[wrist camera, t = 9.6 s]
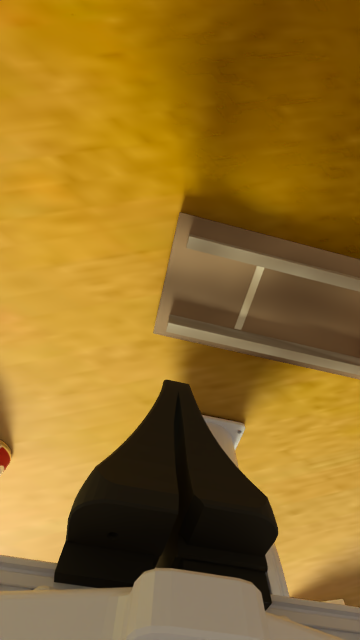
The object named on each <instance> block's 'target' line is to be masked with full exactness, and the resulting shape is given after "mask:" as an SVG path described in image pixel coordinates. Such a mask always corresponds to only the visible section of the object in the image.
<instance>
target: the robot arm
mask: <svg viewBox="0 0 360 640" xmlns="http://www.w3.org/2000/svg"><path fill="white" fill-rule="evenodd" d="M238 430H240V431H238ZM244 430H245V425H244V424H243V423H240V422H235V421H230V420H225V419H220V418H215V417H210V416H205V415H202V414H201V412H200V410H199V408H198V406H197V403H196V401H195V398H194V396H193V393H192V391H191V388H190V386H189V384H185V383H181V382H176V381H171V380H164V382H163V386H162V390H161V392H160V394H159V396H158V398H157V400H156V402H155V404H154V405H153V407H152V409H151V410H150V412H149V413H148V415H147V416H146V417H145V419H144V420H143V421H142V423H141V424H140V425H139V426H138V428H137V429H136V430H135V431H134V432H133V433H132V435H131V436H130V437H129V438H128V439H127V440H126V441H125V442H124V443H123V444H122V445H121V446H120V447H119V448H118V449H116V450H115V451H114V452H113V453H112V454H111V455H110V456H109V457H107V458H106V459H105V460H104V461H102V462H101V463H100V464H99V465H97V466H96V467H95V468H94V470H93V471H92V473H91V474H90V475H89V477H88V478H87V480H86V481H85V483H84V484H83V486H82V487H81V489H80V491H79V493H78V495H77V497H76V499H75V501H74V503H73V506H72V509H71V512H70V515H69V518H68V525H67V535H66V542H65V544H64V547H63V550H62V553H61V556H60V558H59V561H58V563H52V562H45V561H38V560H31V559H24V558H17V557H10V556H4V555H0V640H360V607H354V606H348V605H341V604H334V603H327V602H320V601H313V600H306V599H299V598H293V597H289V593H288V589H287V585H286V581H285V577H284V573H283V570H282V566H281V562H280V559H279V556H278V552H277V549H276V546H275V544H274V542H275V540H276V538H277V536H278V527H277V524H276V520H275V517H274V514H273V511H272V508H271V506H270V503H269V501H268V498H267V497H266V496H265V495H264V494H263V493H262V492H261V491H260V490H259V489H258V488H257V487H256V486H255V485H254V484H253V483H252V482H251V481H250V480H249V479H248V478H247V477H246V476H245V475H244V474H243V473H242V472H241V471H240V470H239V468H238V463H237V458H236V454H235V450H236V447H237V445H238V443H239V441H240V439H241V437H242V434H243V432H244Z"/></svg>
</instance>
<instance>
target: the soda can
mask: <svg viewBox="0 0 360 640" xmlns="http://www.w3.org/2000/svg"><path fill="white" fill-rule="evenodd" d="M10 461H11V450H10V448H9V447H8V445H7V444H6V443H4V442H3V441H1V440H0V476H1V474H2V473H3V472H4V470H5V469H6V467H7V466H8V465H9V463H10Z"/></svg>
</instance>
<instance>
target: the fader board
mask: <svg viewBox="0 0 360 640" xmlns="http://www.w3.org/2000/svg"><path fill="white" fill-rule="evenodd" d="M153 333H154V334H159V335H163V336H168V337H172V338H177V339H181V340H186V341H190V342H195V343H199V344H203V345H208V346H212V347H217V348H221V349H226V350H230V351H235V352H239V353H244V354H248V355H253V356H257V357H262V358H266V359H271V360H275V361H280V362H284V363H289V364H293V365H298V366H302V367H306V368H311V369H315V370H320V371H324V372H329V373H333V374H338V375H342V376H347V377H351V378H356V379H360V259H356V258H352V257H348V256H345V255H341V254H337V253H333V252H329V251H326V250H322V249H318V248H314V247H310V246H307V245H303V244H299V243H295V242H291V241H288V240H284V239H280V238H276V237H272V236H268V235H265V234H261V233H257V232H253V231H249V230H246V229H242V228H238V227H234V226H230V225H227V224H223V223H219V222H215V221H211V220H208V219H204V218H200V217H196V216H192V215H188V214H185V213H181V212H180V214H179V219H178V223H177V228H176V232H175V237H174V241H173V246H172V250H171V255H170V259H169V264H168V268H167V273H166V277H165V282H164V286H163V291H162V296H161V300H160V305H159V309H158V314H157V318H156V323H155V327H154V332H153Z"/></svg>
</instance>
